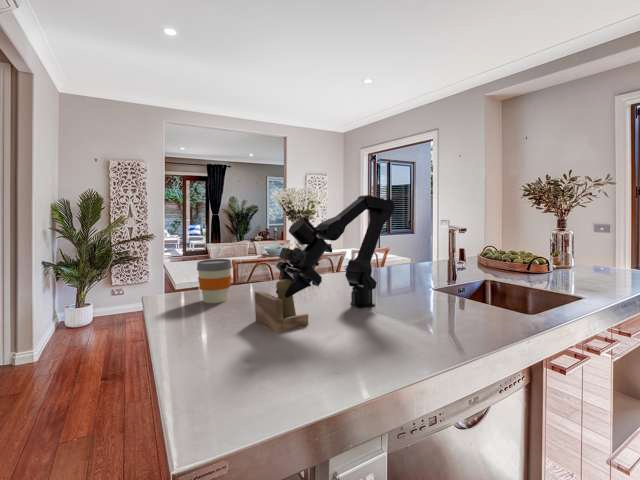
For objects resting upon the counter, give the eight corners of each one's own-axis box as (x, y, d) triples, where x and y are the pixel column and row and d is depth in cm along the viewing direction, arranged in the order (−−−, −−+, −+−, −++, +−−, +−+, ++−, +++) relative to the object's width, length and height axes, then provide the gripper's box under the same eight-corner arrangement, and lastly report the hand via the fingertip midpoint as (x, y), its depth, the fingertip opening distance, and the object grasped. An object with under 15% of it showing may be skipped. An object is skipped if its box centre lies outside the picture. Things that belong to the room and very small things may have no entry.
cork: (286, 320, 98) (285, 282, 97) (271, 317, 102) (270, 280, 101) (300, 315, 103) (299, 279, 102) (285, 312, 106) (284, 277, 105)
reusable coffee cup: (237, 300, 128) (236, 261, 127) (203, 306, 121) (201, 264, 120) (226, 294, 139) (225, 257, 137) (194, 299, 132) (192, 261, 130)
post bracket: (287, 314, 111) (286, 286, 110) (310, 325, 99) (310, 294, 98) (255, 320, 104) (254, 291, 104) (276, 333, 93) (275, 301, 92)
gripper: (280, 236, 110) (249, 274, 105) (311, 239, 95) (277, 284, 90) (301, 257, 115) (273, 295, 110) (335, 264, 100) (304, 308, 95)
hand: (281, 295), depth 101 cm, fingers closed on cork, 5 cm apart
